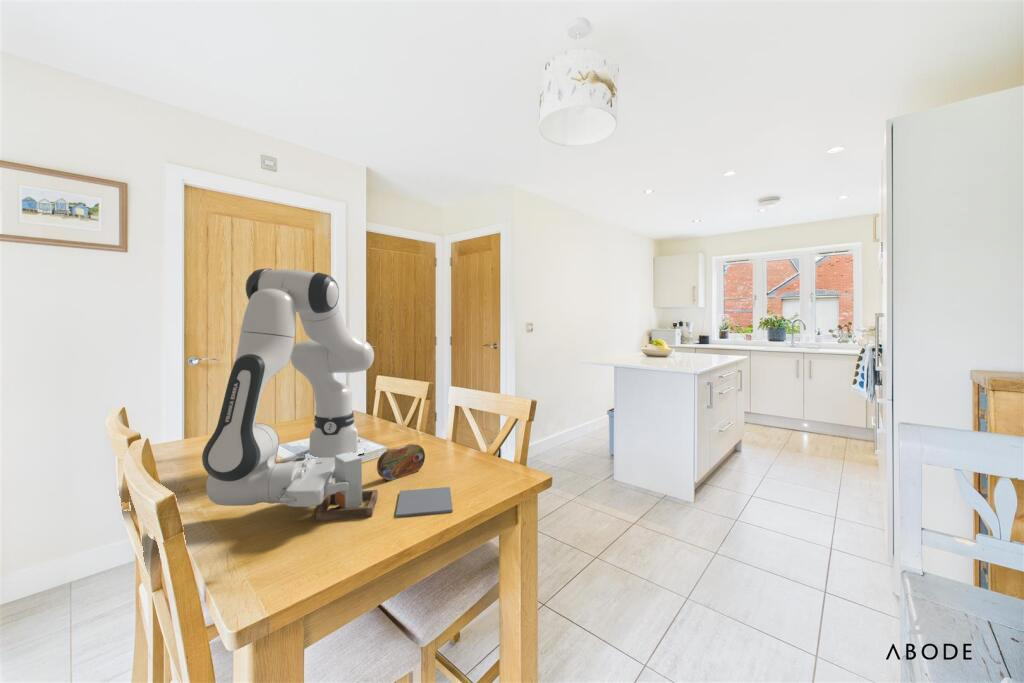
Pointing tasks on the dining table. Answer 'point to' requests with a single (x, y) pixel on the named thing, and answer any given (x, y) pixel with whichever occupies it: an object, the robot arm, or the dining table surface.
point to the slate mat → (424, 502)
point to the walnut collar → (347, 513)
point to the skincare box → (349, 479)
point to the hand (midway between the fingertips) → (352, 477)
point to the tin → (400, 462)
